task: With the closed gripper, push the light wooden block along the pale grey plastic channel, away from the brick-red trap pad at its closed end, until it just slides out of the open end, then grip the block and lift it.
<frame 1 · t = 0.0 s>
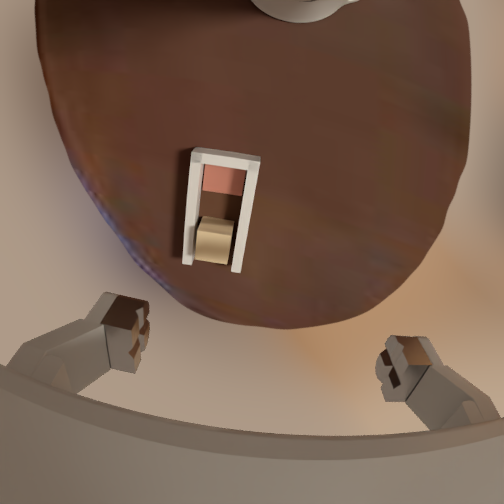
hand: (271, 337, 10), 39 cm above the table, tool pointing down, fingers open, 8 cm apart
block: (216, 232, 53), on the table
channel: (219, 210, 50), on the table
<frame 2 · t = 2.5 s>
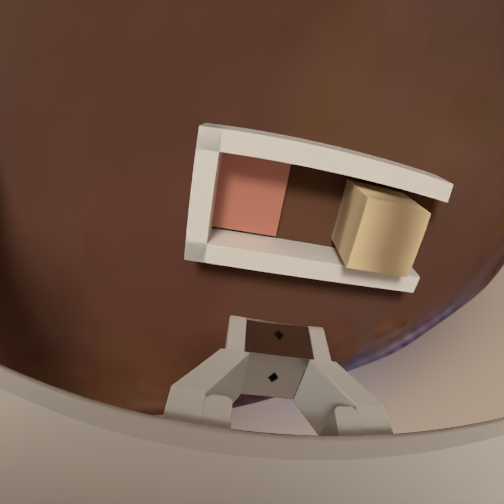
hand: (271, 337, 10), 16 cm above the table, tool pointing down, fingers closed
block: (367, 214, 25), on the table
channel: (321, 205, 25), on the table
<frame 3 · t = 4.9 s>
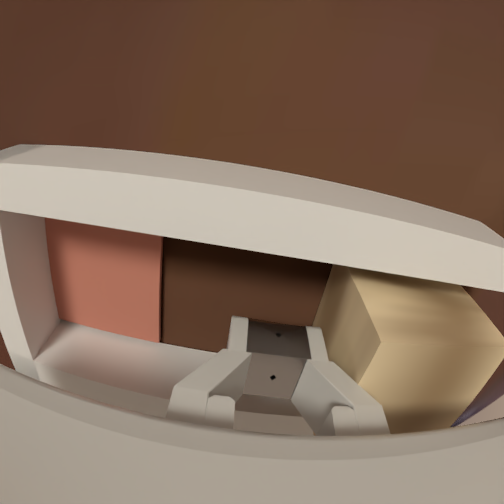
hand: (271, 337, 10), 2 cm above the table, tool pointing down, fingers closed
block: (375, 313, 13), on the table, touching gripper
channel: (239, 293, 12), on the table
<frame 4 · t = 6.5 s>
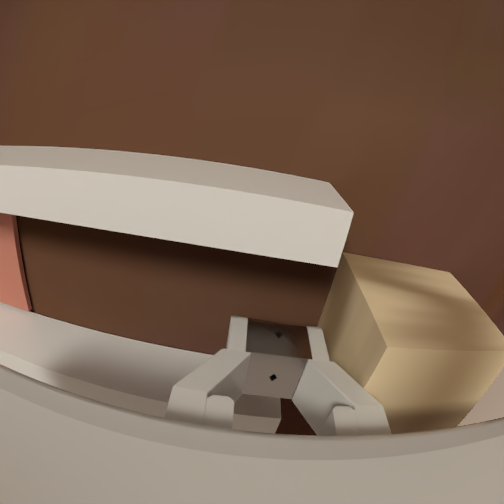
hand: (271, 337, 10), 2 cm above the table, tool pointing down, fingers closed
block: (379, 316, 12), on the table, touching gripper
channel: (74, 265, 12), on the table
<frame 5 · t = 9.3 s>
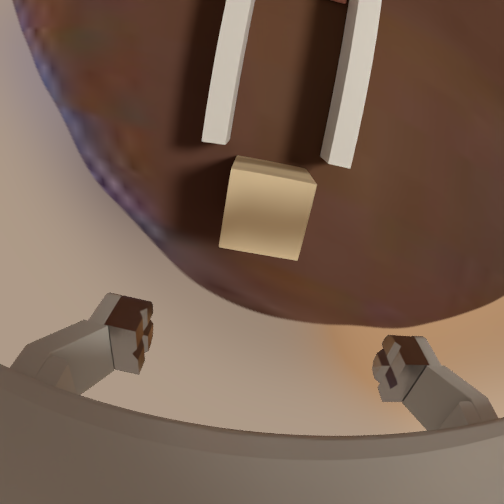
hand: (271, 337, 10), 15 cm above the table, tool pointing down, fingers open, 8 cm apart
block: (264, 194, 24), on the table
channel: (297, 28, 18), on the table
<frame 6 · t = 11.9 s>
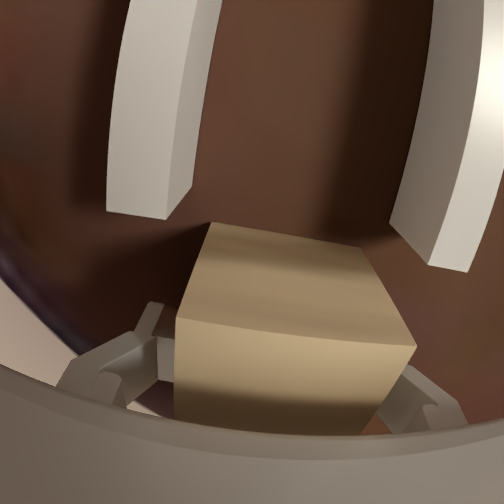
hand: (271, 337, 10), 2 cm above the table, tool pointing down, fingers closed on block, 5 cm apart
block: (273, 298, 12), on the table, touching gripper
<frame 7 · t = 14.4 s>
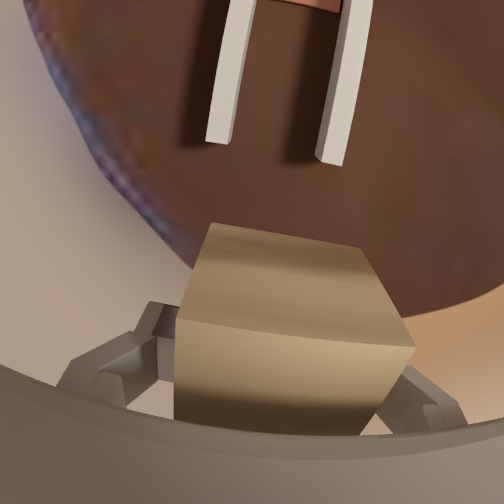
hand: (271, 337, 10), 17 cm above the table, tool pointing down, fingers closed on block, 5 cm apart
block: (273, 299, 12), point 15 cm above the table, touching gripper
channel: (293, 37, 20), on the table
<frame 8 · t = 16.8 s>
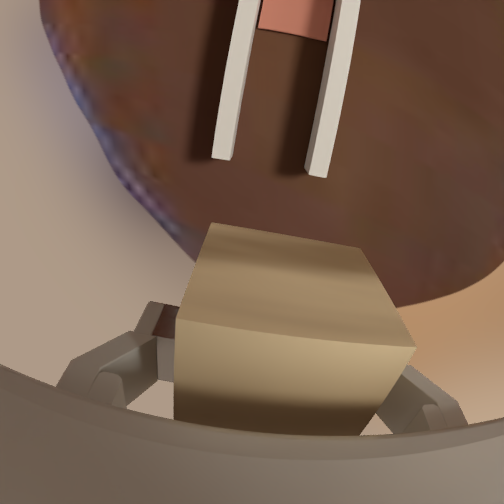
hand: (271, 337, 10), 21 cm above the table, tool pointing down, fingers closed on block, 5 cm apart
block: (273, 299, 12), point 19 cm above the table, touching gripper
channel: (286, 64, 25), on the table
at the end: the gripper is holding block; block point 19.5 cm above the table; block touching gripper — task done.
